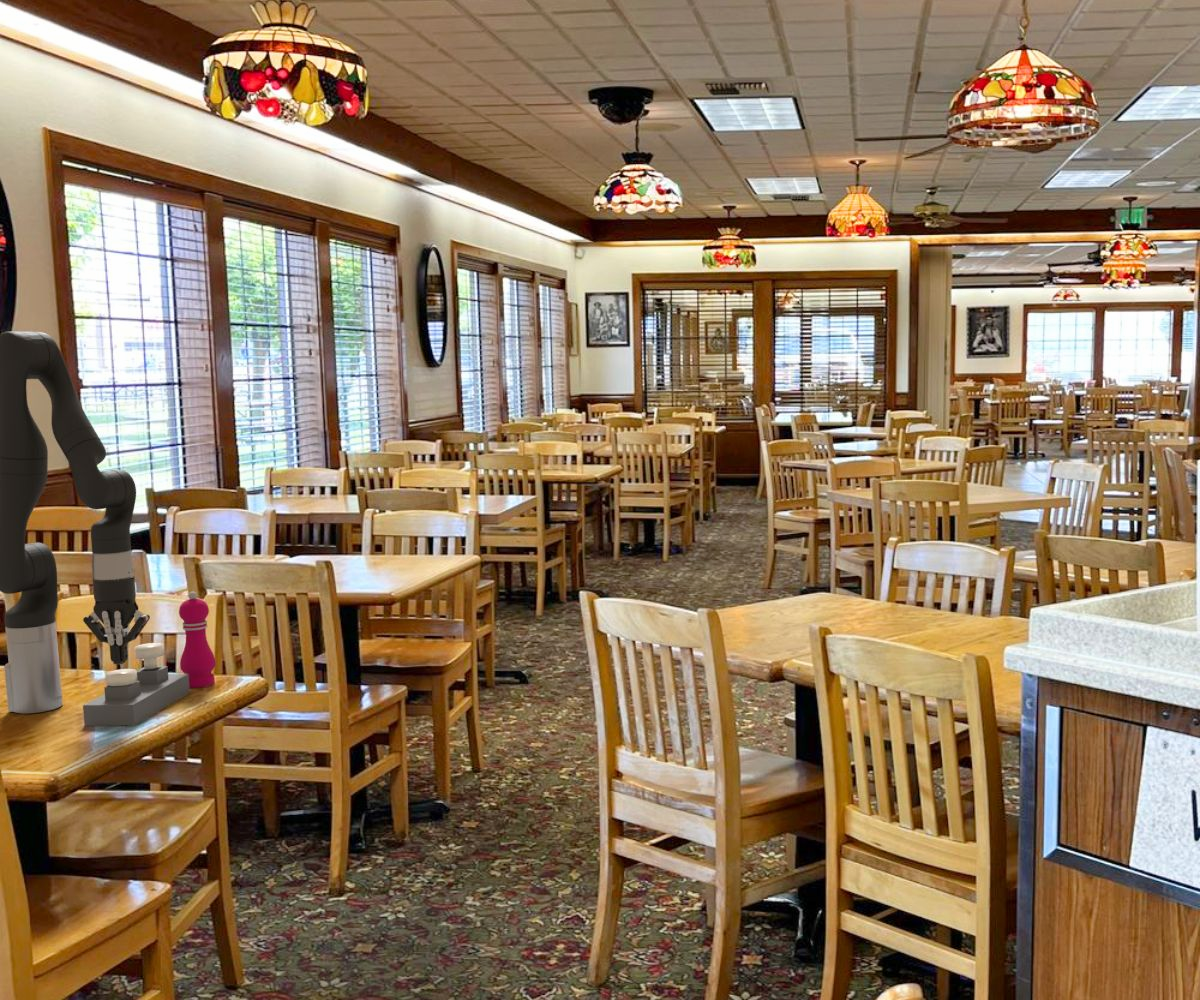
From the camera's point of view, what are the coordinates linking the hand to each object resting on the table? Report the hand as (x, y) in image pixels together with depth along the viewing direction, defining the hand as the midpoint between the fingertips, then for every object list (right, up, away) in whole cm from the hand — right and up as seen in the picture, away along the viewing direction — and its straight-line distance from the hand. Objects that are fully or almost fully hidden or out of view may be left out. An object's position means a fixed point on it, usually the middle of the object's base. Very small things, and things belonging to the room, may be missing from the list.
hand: (119, 663), depth 247 cm
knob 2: (+2, -2, +12) cm, 13 cm away
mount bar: (+1, -10, +7) cm, 12 cm away
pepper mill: (+8, -8, +25) cm, 27 cm away
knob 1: (0, -6, +1) cm, 6 cm away
